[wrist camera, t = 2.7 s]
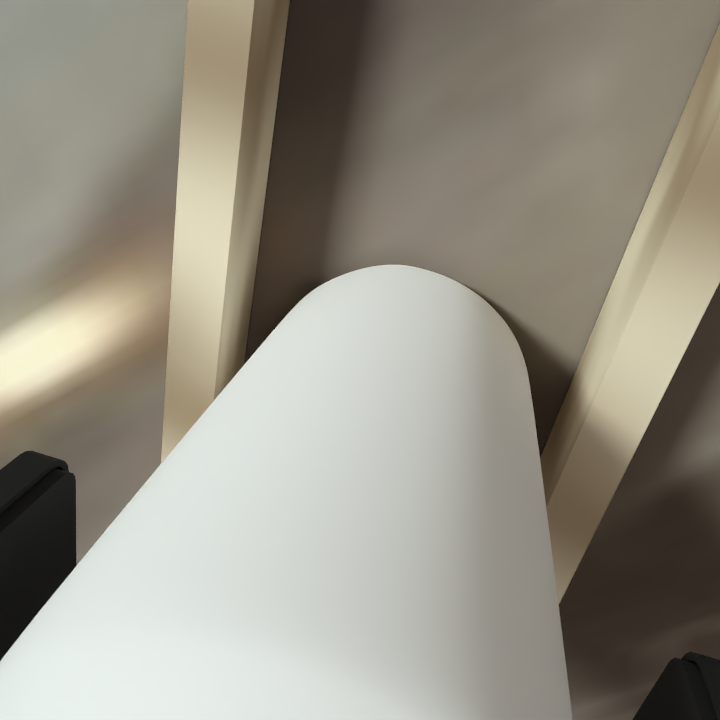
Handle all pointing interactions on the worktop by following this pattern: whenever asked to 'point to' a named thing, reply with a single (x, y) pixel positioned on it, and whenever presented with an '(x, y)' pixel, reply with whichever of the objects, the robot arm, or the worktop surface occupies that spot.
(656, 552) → the worktop surface
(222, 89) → the rail channel
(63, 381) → the worktop surface
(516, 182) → the worktop surface
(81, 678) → the can
